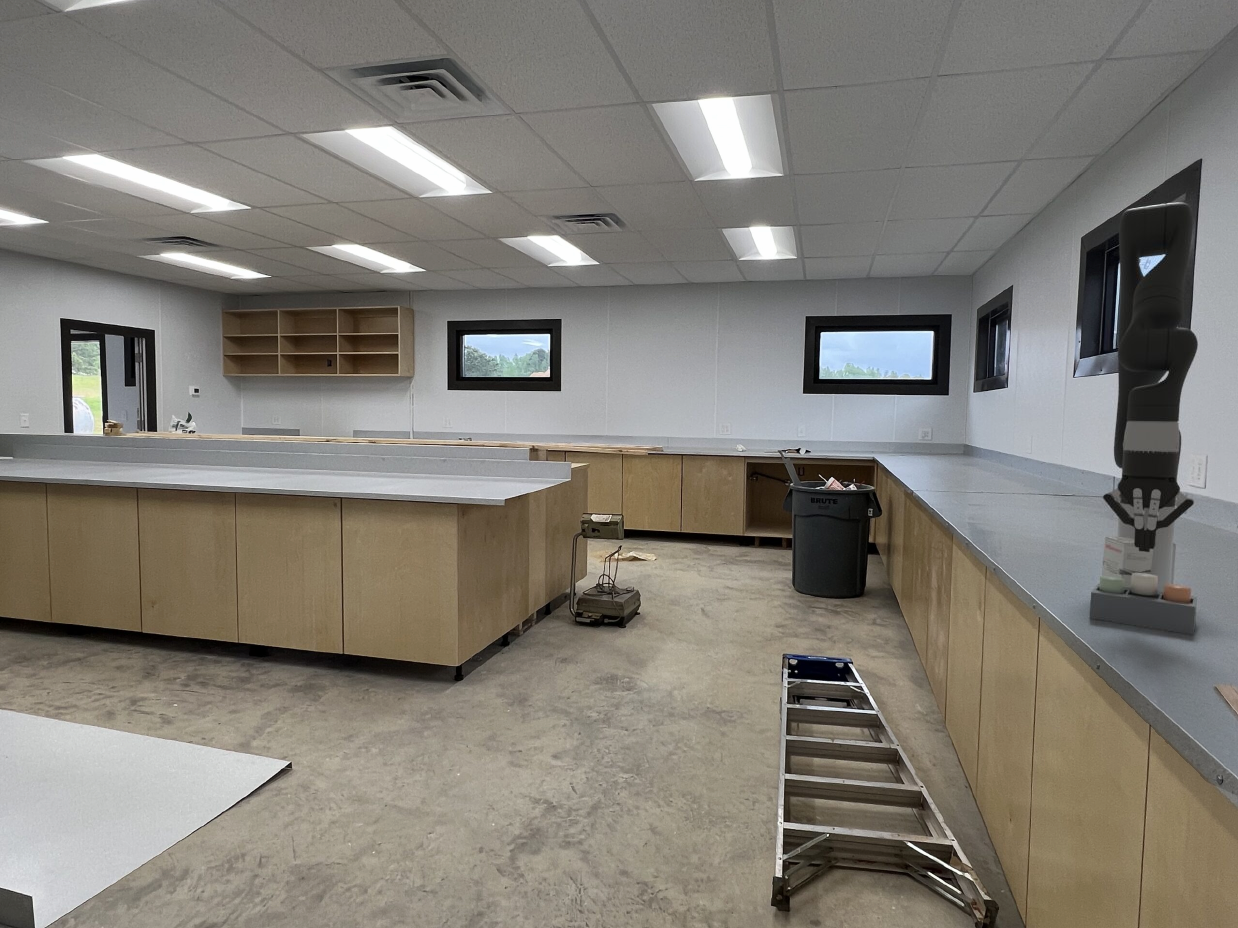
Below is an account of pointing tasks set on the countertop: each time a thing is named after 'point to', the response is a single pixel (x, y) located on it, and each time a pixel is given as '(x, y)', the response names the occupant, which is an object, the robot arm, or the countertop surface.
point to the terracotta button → (1177, 593)
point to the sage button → (1112, 584)
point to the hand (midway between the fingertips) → (1144, 550)
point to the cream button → (1144, 584)
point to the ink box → (1124, 559)
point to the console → (1143, 610)
